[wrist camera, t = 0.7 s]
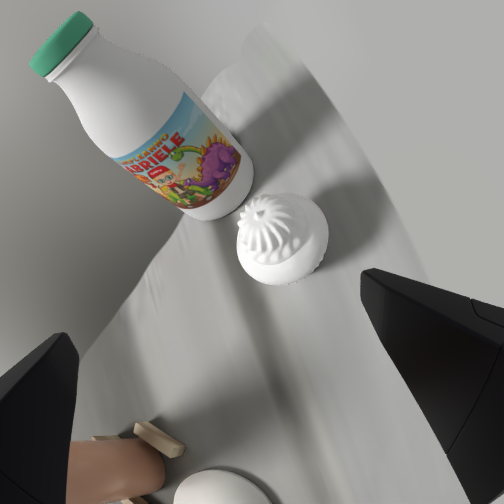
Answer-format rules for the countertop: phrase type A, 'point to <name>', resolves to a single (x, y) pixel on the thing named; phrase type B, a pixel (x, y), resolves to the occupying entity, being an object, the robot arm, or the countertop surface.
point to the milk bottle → (147, 120)
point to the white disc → (219, 489)
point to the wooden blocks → (156, 440)
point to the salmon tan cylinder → (112, 470)
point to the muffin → (281, 238)
